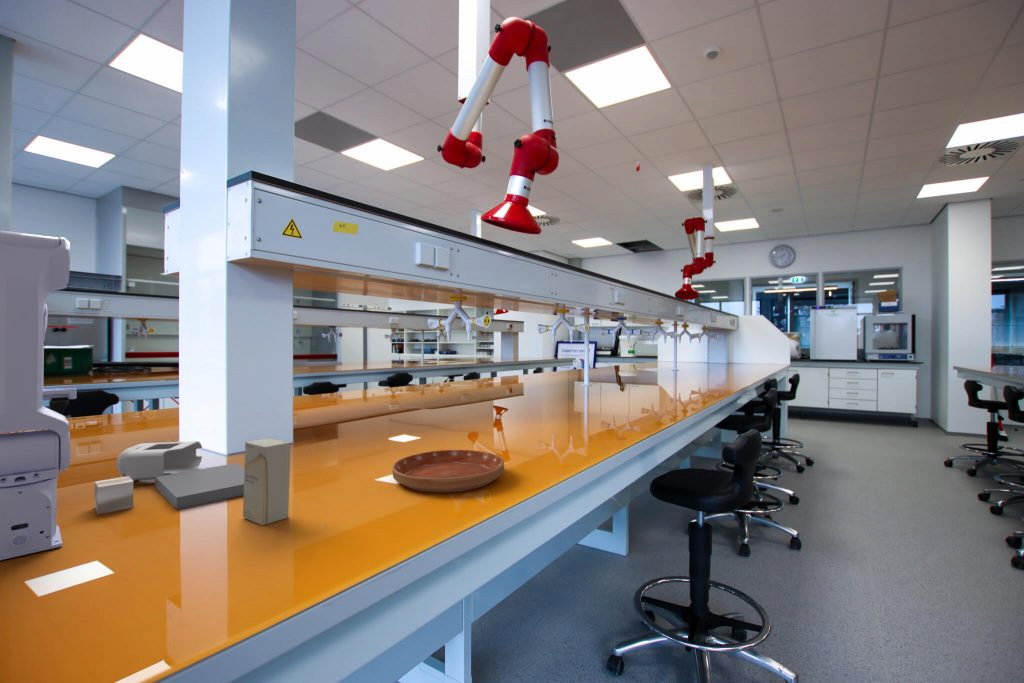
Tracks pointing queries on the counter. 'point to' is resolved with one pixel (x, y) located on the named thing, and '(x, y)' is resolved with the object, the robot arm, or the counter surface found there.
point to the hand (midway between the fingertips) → (20, 442)
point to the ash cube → (113, 494)
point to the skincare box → (266, 480)
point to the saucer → (448, 470)
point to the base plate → (201, 485)
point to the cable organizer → (158, 460)
